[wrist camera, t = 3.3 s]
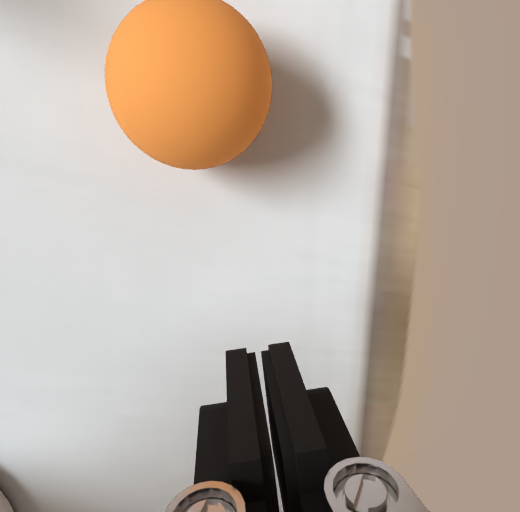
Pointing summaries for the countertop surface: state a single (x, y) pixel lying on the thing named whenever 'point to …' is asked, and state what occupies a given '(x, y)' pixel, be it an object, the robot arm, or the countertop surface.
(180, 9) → the ball
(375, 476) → the robot arm
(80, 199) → the countertop surface
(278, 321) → the countertop surface
